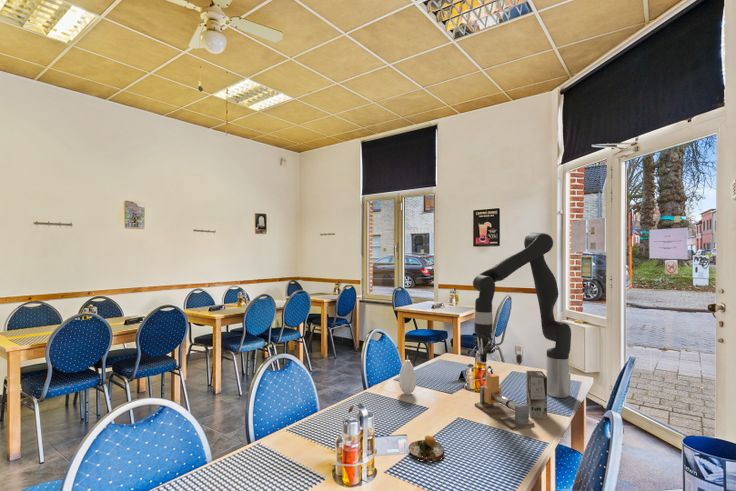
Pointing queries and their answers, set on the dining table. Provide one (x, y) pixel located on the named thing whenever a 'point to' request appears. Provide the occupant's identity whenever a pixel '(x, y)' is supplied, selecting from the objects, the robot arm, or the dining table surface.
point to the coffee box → (536, 393)
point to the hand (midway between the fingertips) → (483, 362)
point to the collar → (491, 388)
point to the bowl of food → (427, 449)
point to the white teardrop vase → (407, 378)
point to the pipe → (509, 406)
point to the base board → (502, 414)
